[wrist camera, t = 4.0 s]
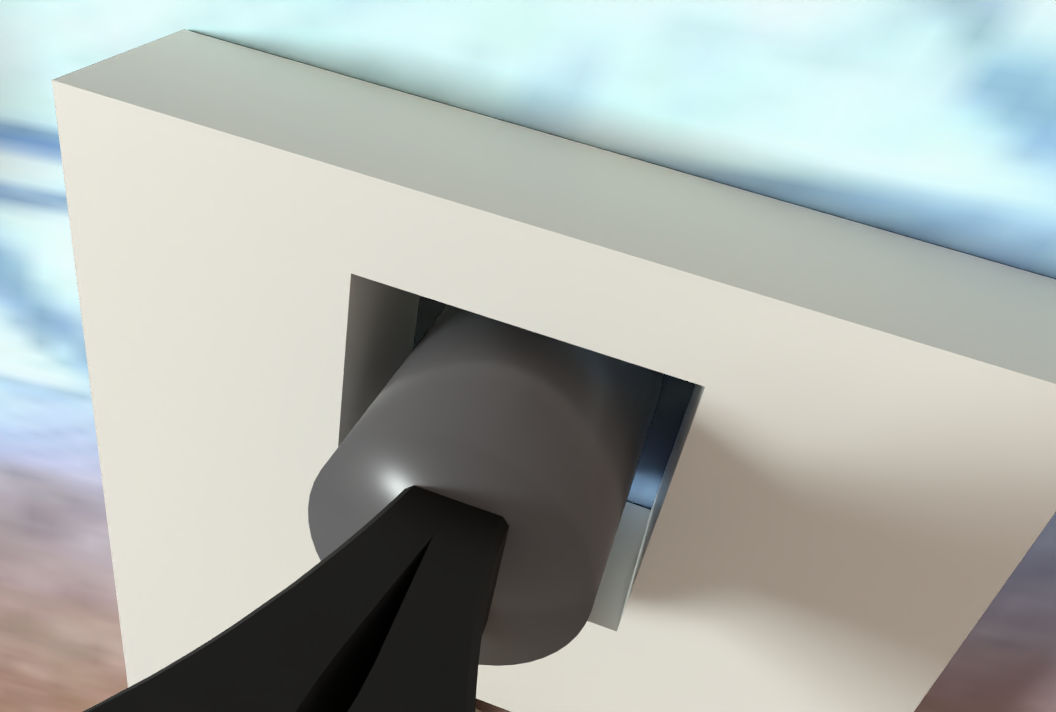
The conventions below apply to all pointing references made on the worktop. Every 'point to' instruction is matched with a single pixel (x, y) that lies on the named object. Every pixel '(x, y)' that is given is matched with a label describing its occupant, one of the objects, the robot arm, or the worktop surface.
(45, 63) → the worktop surface
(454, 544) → the robot arm
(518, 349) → the knob
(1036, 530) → the housing
